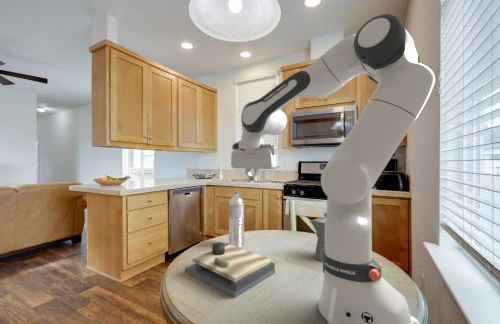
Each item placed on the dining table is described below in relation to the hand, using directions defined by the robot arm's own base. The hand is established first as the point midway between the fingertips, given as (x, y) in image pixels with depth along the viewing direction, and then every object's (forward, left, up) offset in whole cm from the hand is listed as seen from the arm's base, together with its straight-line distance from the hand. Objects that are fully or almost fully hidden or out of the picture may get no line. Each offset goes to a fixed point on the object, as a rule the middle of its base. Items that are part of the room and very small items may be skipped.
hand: (252, 180), depth 90 cm
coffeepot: (-21, -23, -31) cm, 44 cm away
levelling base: (0, +12, -31) cm, 33 cm away
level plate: (-1, +12, -27) cm, 30 cm away
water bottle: (+16, -8, -31) cm, 36 cm away
